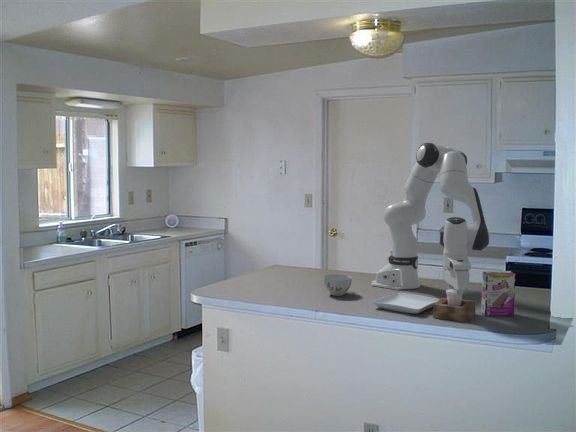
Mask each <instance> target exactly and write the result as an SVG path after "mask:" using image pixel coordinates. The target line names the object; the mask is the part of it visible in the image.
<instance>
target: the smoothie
mask: <svg viewBox="0 0 576 432" xmlns="http://www.w3.org/2000/svg"><path fill="white" fill-rule="evenodd" d="M445 294H446V298H447V300H448V305H456V306H461V301H462V300H463V295H464V291H462V294H461V300H456V299H455V295H456V288H454V289H446V290H445Z"/></svg>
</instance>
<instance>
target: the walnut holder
mask: <svg viewBox="0 0 576 432" xmlns="http://www.w3.org/2000/svg"><path fill="white" fill-rule="evenodd" d="M439 299H440V300H439V301H437V302H436V303H434V304H433V307H432V318H434V319H442V320H448V321H457V322H465V323H467V322H468V321H470V319H472V318H473V317H474V316H475V315H476V300H469V299H462V301H461V306H456V305H448V300H447V297H441V298H439Z"/></svg>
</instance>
